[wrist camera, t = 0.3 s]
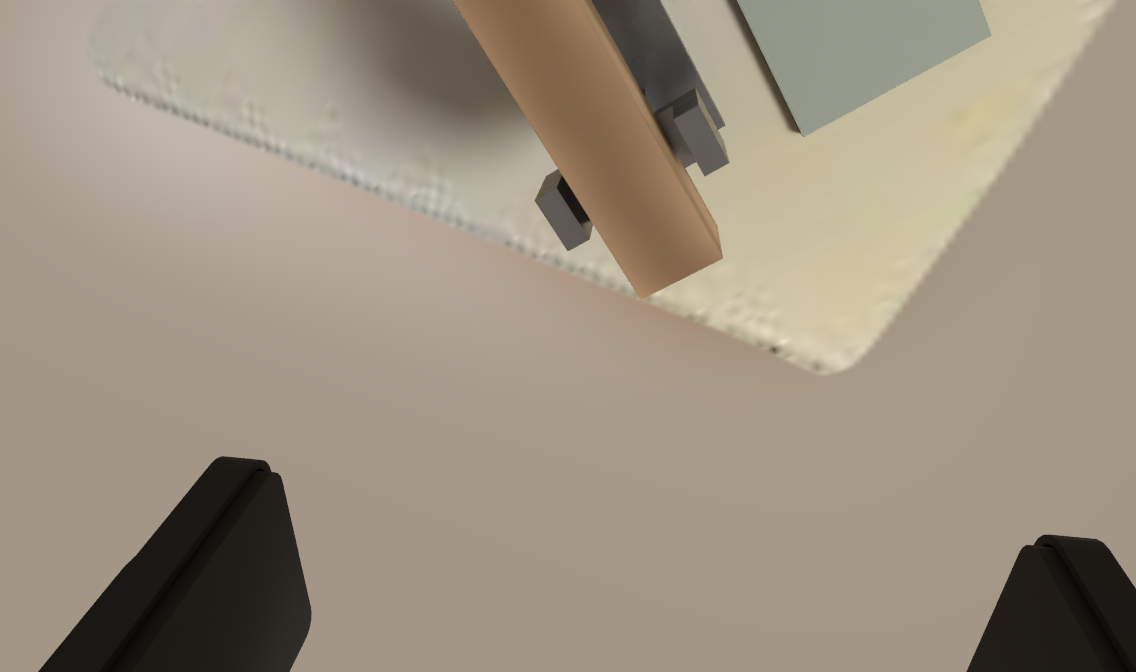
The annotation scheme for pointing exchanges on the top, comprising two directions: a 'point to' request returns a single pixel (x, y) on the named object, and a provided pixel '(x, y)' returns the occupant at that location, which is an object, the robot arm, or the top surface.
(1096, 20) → the top surface
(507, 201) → the top surface
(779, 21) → the mat
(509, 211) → the top surface
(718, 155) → the stand
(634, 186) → the rail
